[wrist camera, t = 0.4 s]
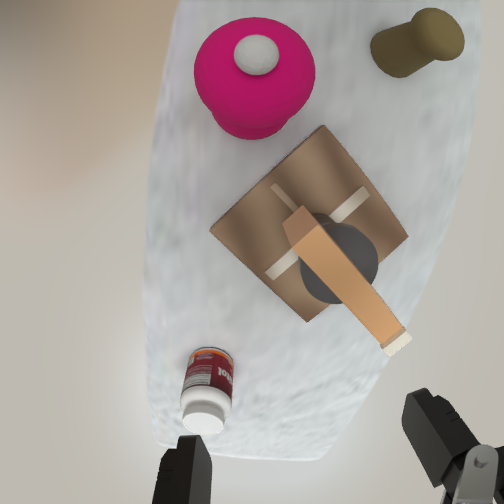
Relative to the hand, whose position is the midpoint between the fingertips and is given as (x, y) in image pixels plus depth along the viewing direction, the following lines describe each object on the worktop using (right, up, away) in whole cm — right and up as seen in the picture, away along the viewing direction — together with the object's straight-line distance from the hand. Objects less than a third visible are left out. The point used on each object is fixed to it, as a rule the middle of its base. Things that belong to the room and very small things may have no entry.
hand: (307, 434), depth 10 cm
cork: (+14, +29, +16) cm, 36 cm away
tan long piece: (+5, +6, +15) cm, 17 cm away
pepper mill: (-2, +21, +18) cm, 28 cm away
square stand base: (+5, +9, +23) cm, 25 cm away
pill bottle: (-8, -8, +30) cm, 32 cm away
